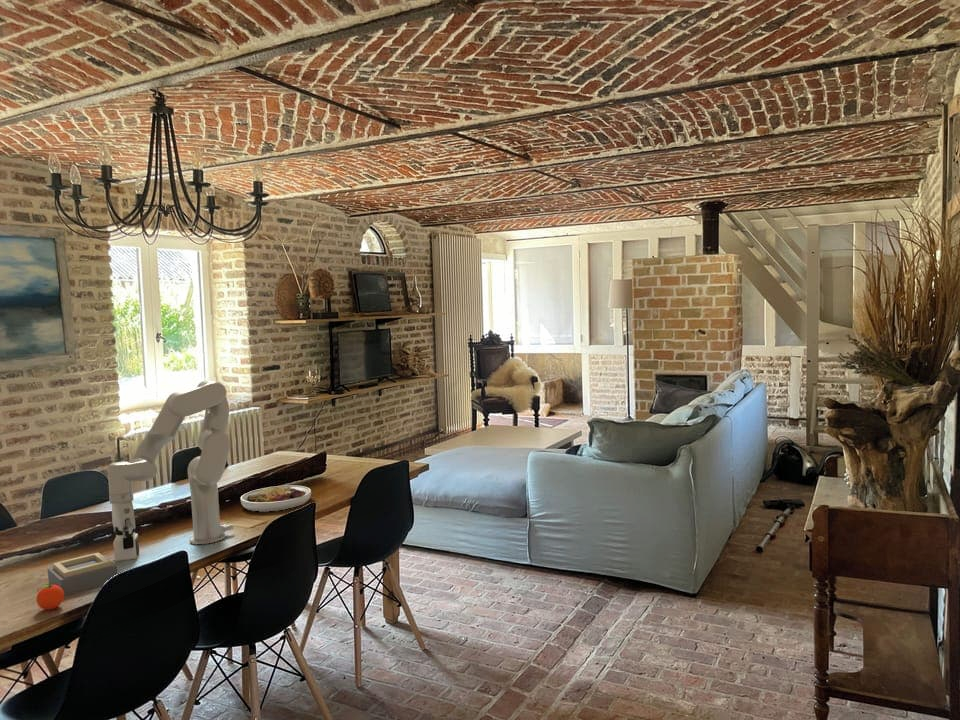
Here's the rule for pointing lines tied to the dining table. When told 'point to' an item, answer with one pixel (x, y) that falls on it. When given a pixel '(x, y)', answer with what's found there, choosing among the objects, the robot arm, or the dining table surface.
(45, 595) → the clementine
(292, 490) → the bowl
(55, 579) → the block
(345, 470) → the dining table surface
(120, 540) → the medicine bottle
